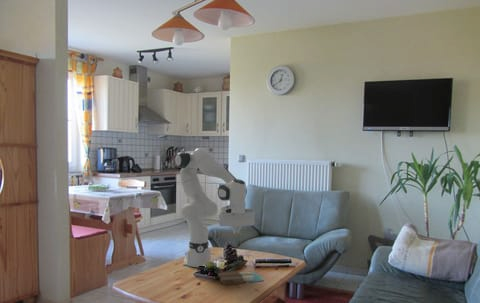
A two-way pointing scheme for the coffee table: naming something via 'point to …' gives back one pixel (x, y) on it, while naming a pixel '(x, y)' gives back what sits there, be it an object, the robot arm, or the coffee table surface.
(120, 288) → the coffee table surface
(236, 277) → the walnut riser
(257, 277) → the teal mat
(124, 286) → the coffee table surface
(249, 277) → the birch tile
